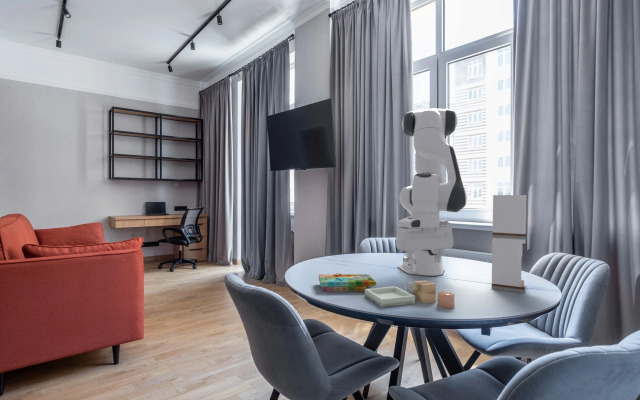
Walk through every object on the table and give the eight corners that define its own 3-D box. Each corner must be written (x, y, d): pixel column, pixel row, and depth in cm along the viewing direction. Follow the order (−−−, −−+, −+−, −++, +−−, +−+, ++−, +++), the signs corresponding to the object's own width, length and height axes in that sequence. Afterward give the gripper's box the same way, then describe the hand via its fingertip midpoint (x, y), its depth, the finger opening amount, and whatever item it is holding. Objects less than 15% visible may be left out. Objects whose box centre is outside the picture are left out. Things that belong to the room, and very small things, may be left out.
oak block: (413, 299, 117) (413, 281, 117) (426, 297, 119) (426, 280, 118) (422, 303, 112) (422, 285, 112) (435, 302, 114) (435, 283, 114)
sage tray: (364, 296, 120) (365, 289, 120) (395, 293, 123) (395, 286, 123) (381, 307, 108) (381, 299, 108) (415, 303, 112) (415, 295, 112)
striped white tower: (524, 293, 124) (526, 195, 124) (491, 288, 130) (493, 195, 129) (523, 285, 134) (525, 195, 134) (493, 282, 139) (494, 194, 139)
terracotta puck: (434, 304, 111) (434, 292, 111) (447, 303, 113) (447, 290, 113) (444, 309, 107) (444, 296, 107) (457, 308, 108) (458, 295, 108)
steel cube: (406, 293, 123) (406, 282, 123) (414, 292, 125) (414, 281, 125) (415, 296, 120) (415, 285, 120) (423, 295, 122) (423, 283, 122)
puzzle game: (318, 272, 135) (369, 272, 137) (318, 284, 136) (369, 284, 137) (320, 280, 124) (376, 279, 125) (320, 293, 124) (376, 292, 125)
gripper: (445, 220, 121) (445, 259, 121) (393, 221, 115) (393, 263, 115) (457, 221, 115) (457, 263, 115) (404, 222, 109) (404, 266, 109)
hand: (425, 263), depth 115 cm, fingers open, 8 cm apart
